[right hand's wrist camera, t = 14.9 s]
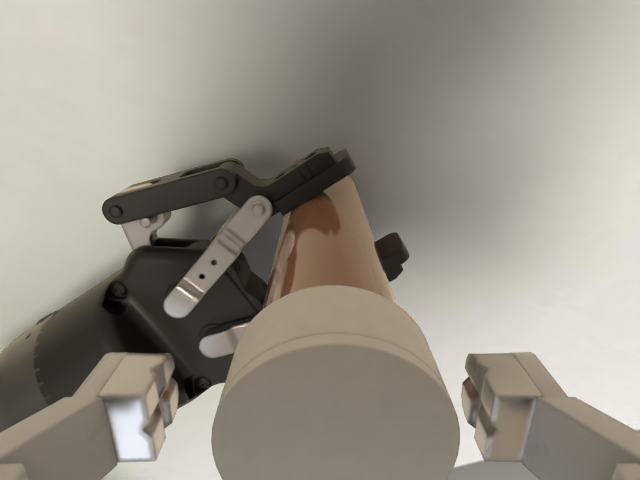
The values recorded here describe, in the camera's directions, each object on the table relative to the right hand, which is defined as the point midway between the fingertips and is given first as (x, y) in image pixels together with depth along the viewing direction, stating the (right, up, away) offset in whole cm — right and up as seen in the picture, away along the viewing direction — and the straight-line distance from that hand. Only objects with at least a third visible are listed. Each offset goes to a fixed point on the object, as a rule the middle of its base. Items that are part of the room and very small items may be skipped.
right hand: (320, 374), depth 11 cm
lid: (0, -1, -2) cm, 2 cm away
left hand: (+2, +5, +9) cm, 10 cm away
